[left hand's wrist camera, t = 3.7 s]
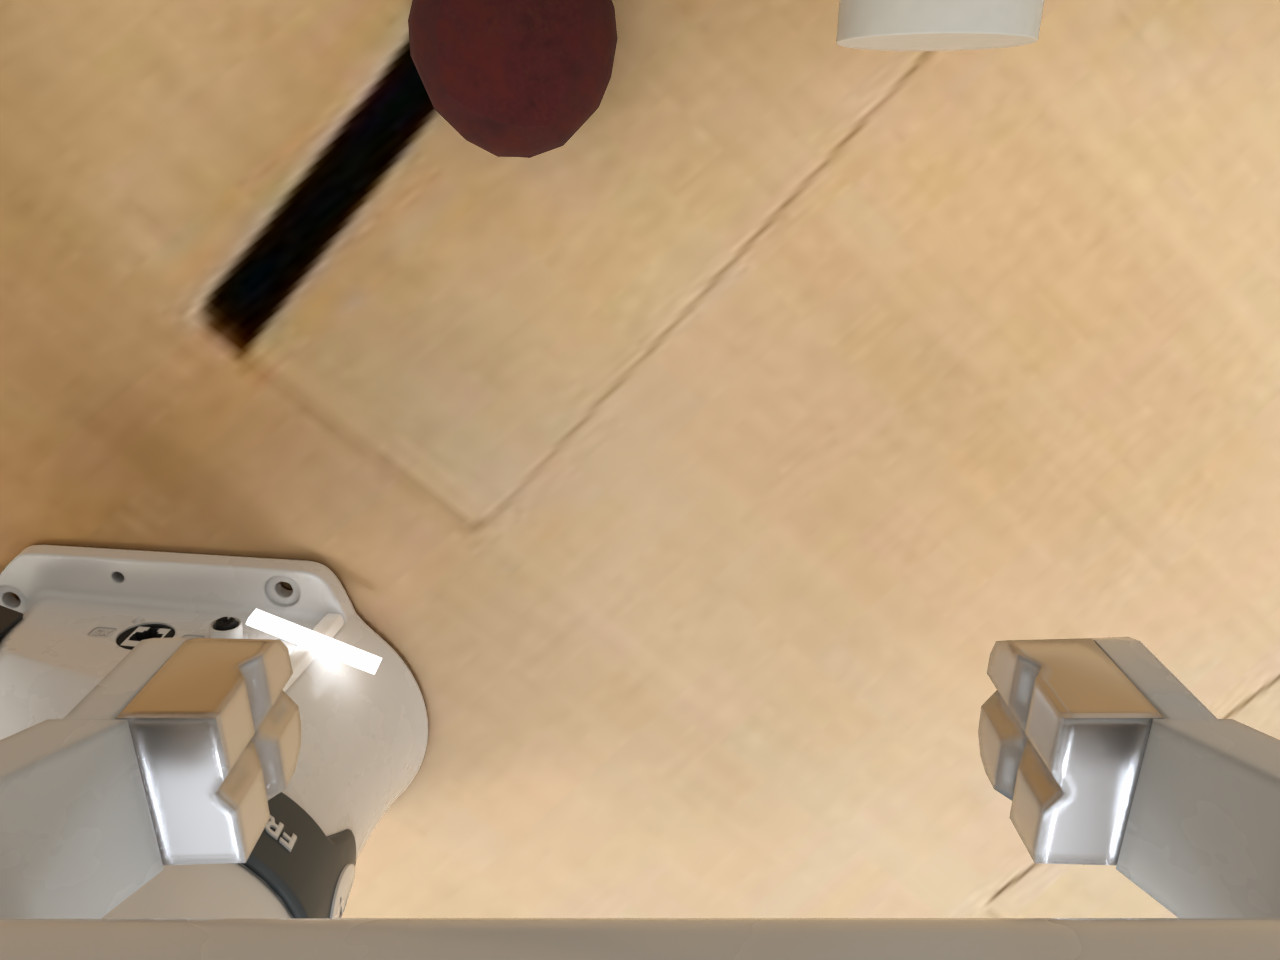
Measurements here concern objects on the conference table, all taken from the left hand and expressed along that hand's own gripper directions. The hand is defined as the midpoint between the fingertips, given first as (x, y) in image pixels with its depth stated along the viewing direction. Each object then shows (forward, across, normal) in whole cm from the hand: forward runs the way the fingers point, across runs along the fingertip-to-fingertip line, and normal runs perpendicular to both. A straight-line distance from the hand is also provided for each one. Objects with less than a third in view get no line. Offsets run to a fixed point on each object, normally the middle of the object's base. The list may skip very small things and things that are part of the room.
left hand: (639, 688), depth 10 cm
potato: (+30, +5, -9) cm, 32 cm away
